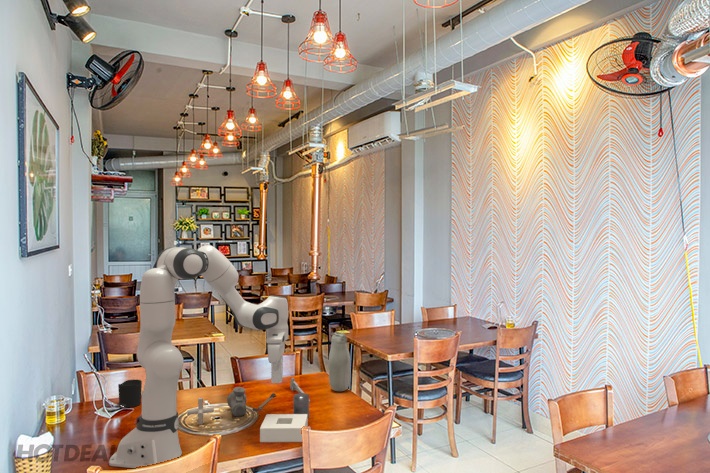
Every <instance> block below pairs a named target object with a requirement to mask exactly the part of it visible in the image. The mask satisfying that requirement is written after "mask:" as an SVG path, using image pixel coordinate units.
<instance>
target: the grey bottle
mask: <svg viewBox="0 0 710 473" xmlns="http://www.w3.org/2000/svg"><path fill="white" fill-rule="evenodd" d="M330 345H331V346H330V349H329V350H330V351H329V355H328V381H329V385H330V387H331V389H332V390H333V391H335V392H345V391H346V390H348V389H349V386H350V384H351V354H350V351H349V346H348V337H347V335H346V334H345V333H343V332H334V333H332V335H331V344H330Z"/></svg>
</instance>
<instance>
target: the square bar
mask: <svg viewBox="0 0 710 473" xmlns="http://www.w3.org/2000/svg"><path fill="white" fill-rule="evenodd" d="M283 358H284V356H283V355H282V357H281V358H280V360H279V362H278V371H274V370H273V363H270V364H271V368H270V369H271V370H270V371H271V372H270V373H271V374H270V376H271V378H270V379H271V380H270V381H271V382H270V383H271V384H281V383H282V382H283V378H284V377H283V376H284V375H283V374H284V372H283V371H284V370H283V369H284V364H283V362H284V361H283Z"/></svg>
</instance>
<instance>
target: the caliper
mask: <svg viewBox="0 0 710 473" xmlns="http://www.w3.org/2000/svg"><path fill="white" fill-rule="evenodd" d="M289 387H290V388H289V389H290V390H291V391H292V392H294V391H296V392H298V393H305V392H304V391H303V390H302V388H300V387H299V384H298V383H297V382H296V381H295V377H291V379H290V386H289ZM309 403H311V400H310V399H309Z"/></svg>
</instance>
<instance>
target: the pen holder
mask: <svg viewBox="0 0 710 473" xmlns="http://www.w3.org/2000/svg"><path fill="white" fill-rule="evenodd" d="M142 383H143V381H142V380H141V379H126V380H125V381H123V382H122V383H118V404H119V405H122V406H124V407H132V408H135V407H138V406H140V405H142V387H143V386H142V385H143V384H142ZM119 405H118V406H119Z"/></svg>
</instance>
